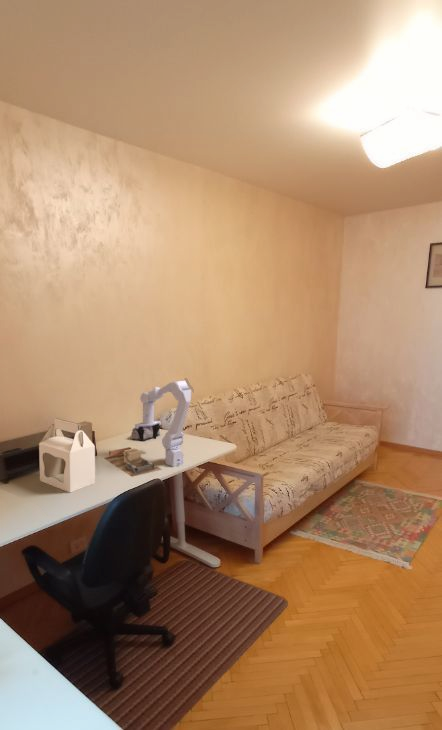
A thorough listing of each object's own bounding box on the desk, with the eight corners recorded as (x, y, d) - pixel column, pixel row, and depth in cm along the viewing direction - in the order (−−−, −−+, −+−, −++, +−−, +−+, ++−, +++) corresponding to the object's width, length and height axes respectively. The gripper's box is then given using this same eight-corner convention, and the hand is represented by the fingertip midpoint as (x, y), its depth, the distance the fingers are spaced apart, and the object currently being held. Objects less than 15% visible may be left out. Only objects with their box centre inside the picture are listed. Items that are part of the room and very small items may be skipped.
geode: (150, 432, 272) (152, 417, 270) (163, 437, 266) (165, 422, 264) (127, 438, 255) (129, 422, 253) (140, 444, 249) (142, 428, 247)
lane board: (162, 471, 202) (162, 464, 202) (131, 478, 192) (131, 471, 192) (131, 454, 227) (131, 447, 226) (103, 459, 217) (103, 453, 216)
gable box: (95, 483, 186) (95, 421, 183) (70, 493, 175) (69, 427, 172) (64, 472, 198) (63, 414, 195) (39, 481, 187) (37, 419, 184)
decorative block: (75, 466, 206) (74, 427, 204) (68, 464, 209) (67, 425, 207) (93, 460, 215) (92, 422, 213) (85, 458, 219) (85, 421, 216)
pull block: (145, 461, 213) (145, 450, 212) (124, 466, 205) (124, 454, 204) (129, 453, 225) (129, 442, 224) (109, 457, 217) (109, 446, 216)
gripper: (156, 411, 228) (156, 435, 230) (132, 414, 219) (132, 440, 221) (163, 414, 223) (163, 438, 224) (138, 417, 214) (138, 443, 215)
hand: (148, 439), depth 222 cm, fingers open, 7 cm apart
